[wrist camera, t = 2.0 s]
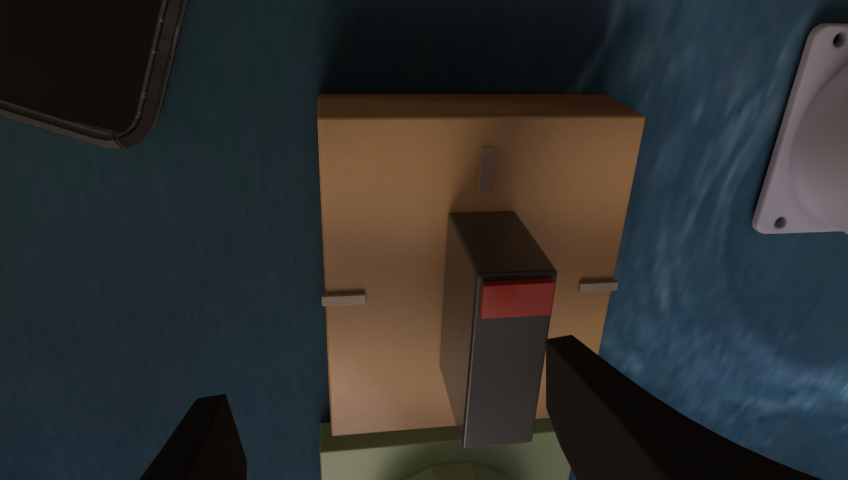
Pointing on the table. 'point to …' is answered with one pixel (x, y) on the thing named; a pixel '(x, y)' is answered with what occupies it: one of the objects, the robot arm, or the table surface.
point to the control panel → (427, 228)
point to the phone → (88, 65)
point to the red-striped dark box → (494, 326)
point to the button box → (439, 456)
